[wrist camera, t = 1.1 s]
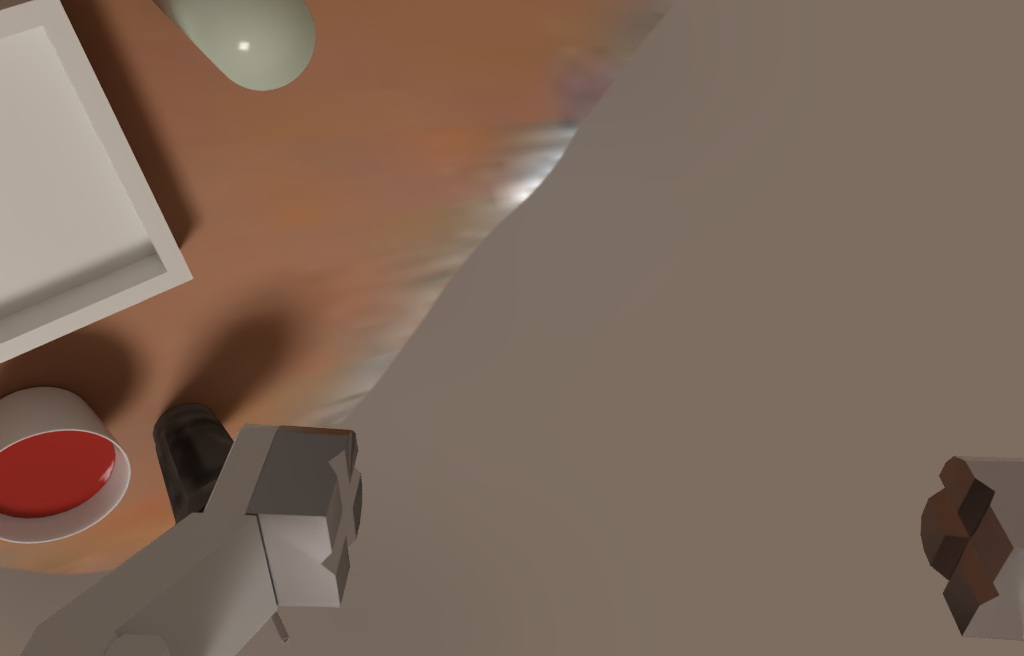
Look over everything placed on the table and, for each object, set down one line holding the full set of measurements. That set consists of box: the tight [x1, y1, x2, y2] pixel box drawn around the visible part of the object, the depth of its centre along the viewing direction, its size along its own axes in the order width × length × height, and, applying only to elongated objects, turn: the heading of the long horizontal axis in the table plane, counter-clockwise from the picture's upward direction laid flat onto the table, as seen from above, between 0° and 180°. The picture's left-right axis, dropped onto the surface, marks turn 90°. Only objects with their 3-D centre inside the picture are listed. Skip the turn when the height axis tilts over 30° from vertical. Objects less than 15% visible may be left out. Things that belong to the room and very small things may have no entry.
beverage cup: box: [153, 404, 289, 643], centre depth 56 cm, size 7×7×20 cm
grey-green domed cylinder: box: [153, 0, 315, 91], centre depth 43 cm, size 5×5×12 cm
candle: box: [0, 387, 131, 543], centre depth 54 cm, size 9×9×6 cm
